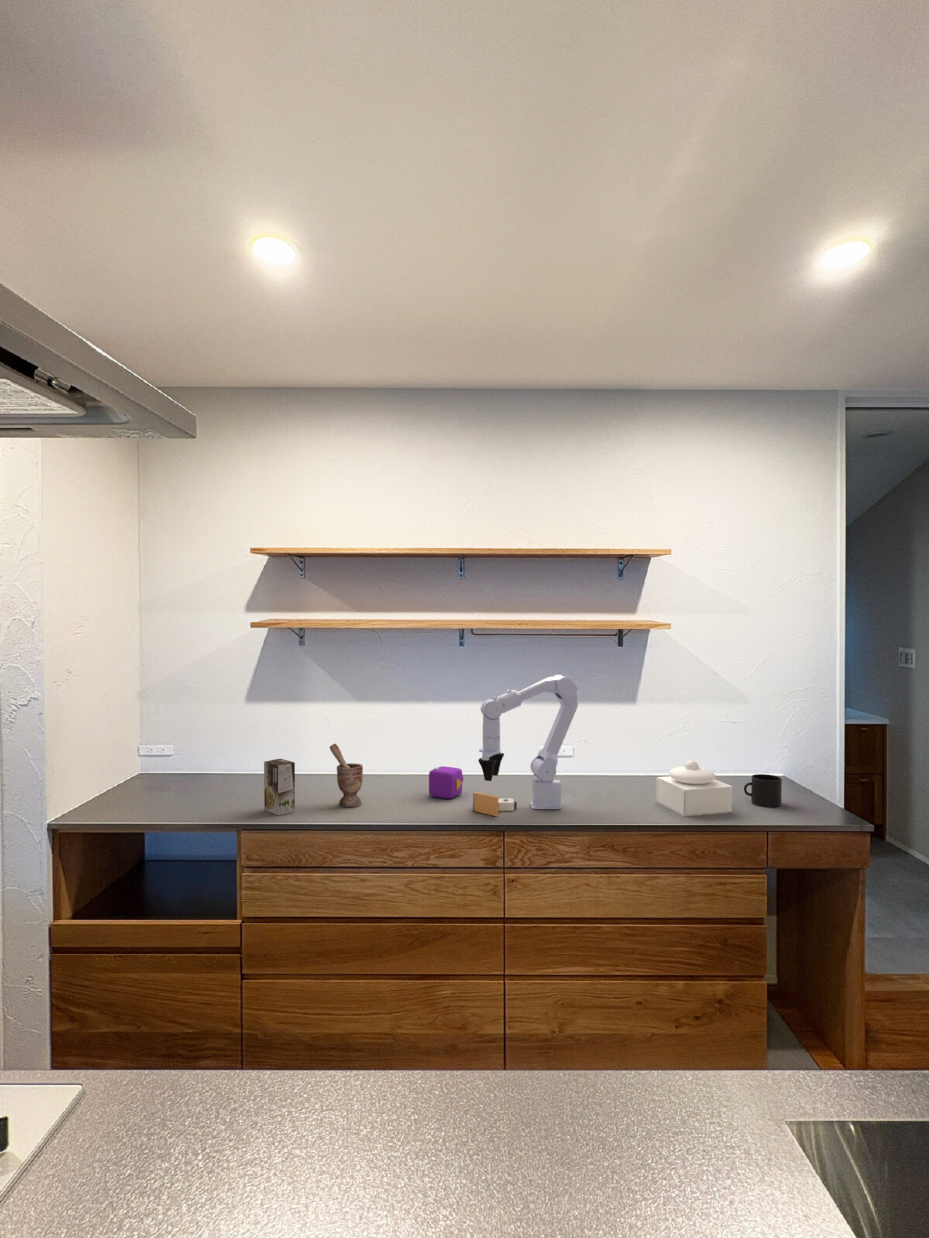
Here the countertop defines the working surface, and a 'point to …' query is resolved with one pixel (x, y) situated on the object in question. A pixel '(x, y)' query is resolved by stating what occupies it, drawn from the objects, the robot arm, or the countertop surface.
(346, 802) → the mortar and pestle
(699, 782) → the butter dish
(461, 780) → the toy camera
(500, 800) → the cream tapered panel
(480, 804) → the side door
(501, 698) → the robot arm
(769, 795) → the mug
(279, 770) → the coffee box
